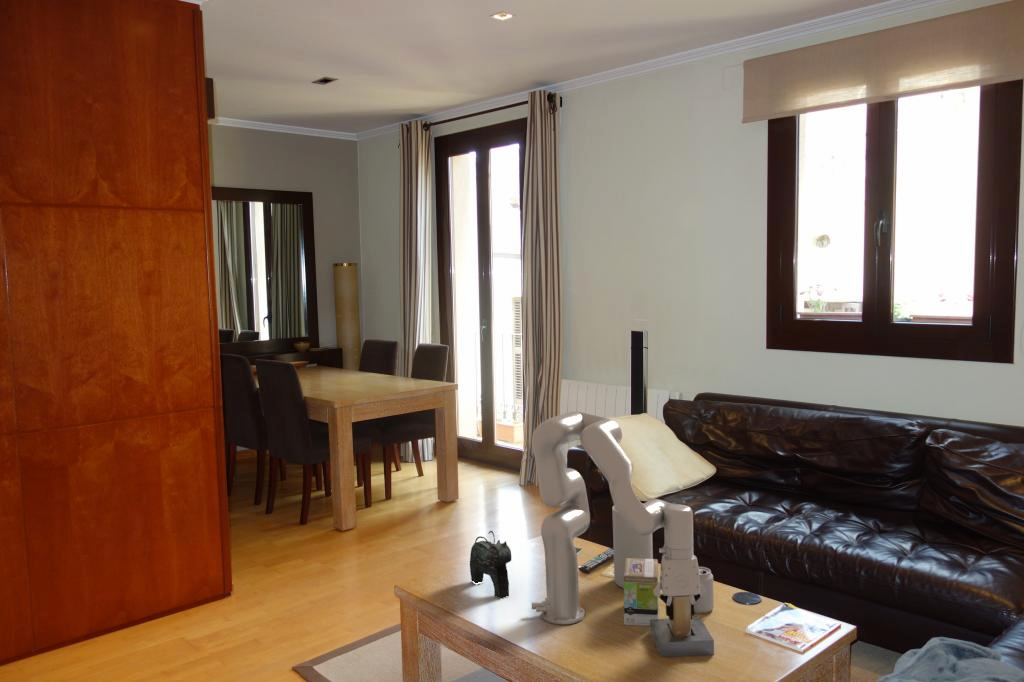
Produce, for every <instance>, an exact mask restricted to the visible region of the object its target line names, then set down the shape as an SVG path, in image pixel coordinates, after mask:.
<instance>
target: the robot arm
mask: <svg viewBox="0 0 1024 682" xmlns="http://www.w3.org/2000/svg"><path fill="white" fill-rule="evenodd" d="M532 433H533V434H532V435H531V449H532V452H533V455H534V460H535V467H536V475H537V481H538V488H539V494H540V497H541V498H540V499H541V500H542V502H543V504H544V505H545V506H547V507H548V508H557V507H560V508H558V509H556V510H554V511H552V512H551V513H549V514H548V515H547V516H546V517H545V518H544V519H543V520H542V523H541V527H540V533H541V539H542V543H543V549H544V565H545V584H546V585H545V587H546V597H545V598H544V600H542V601H541V602H531V610H535V611H536V613H540V612H541V617H542V618H543V620H545V622H548V623H551V624H553V625H572V624H576V623H578V621H579V622H580V620H581V621H582V620H583V619H584V618H585V615H586V612H585V609H584V608H583V607H581V606H580V596H579V593H580V592H579V567H578V565H579V563H578V552H577V550H576V547H575V543H574V539H577V537H579V536H581V535H582V534H583V533H585V532H586V531H587V530H588V528H589V527H590V522H591V513H590V507H589V501H588V494H587V488H586V483H585V480H584V479H583V478H584V477H583V476H582V475H581V474H580V472H578V470H576V469H574V468H571V467H567V468H566V461H565V457H564V454H563V453H562V450H561V449H560V447H561V446H563V445H567V444H570V443H573V442H575V441H580V444H581V446H582V447H583V449H584V451H586V453H587V455H588V456H589V457H590V458H591V460H592V461H593V462H594V464H595V465H596V467H597V468H598V469H599V471H600V472H601V474H602V475H603V476H604V478H605V479H606V481H607V482H608V487H609V492H610V496H611V499H612V502H613V506H614V505H615V508H616V509H617V511H618V513H619V514H620V516H621V517H622V518H623V520H624V521H625V523H626V524H627V525H628V526H629V528H630V529H631V530H633V531H634V532H635V533H637V534H639V535H642V536H644V535H649V534H651V533H652V534H653V533H654V532H656V531H657V530H658V529H661V528H664V530H663V531H664V535H663V537H664V544H663V547H660V548H659V549H658V550H659V551H658V552H659V554H662V556H661V560H660V561H661V563H660V569H659V570H660V571H659V580H658V584H657V586H656V587H655V588H654V590H653V594H654V595H655V596H657V597H658V598H659V599H660V600H661V601H662V602H664V604H665V615H666V616H667V617H668V618H669V619H670V620H673V606H672V603H671V601H672V597H673V596H690V597H691V619H692V617H693V616H695V615H694V614H695V612H694V604H695V602H696V601H697V600H698V599H699V598H700V596H702V595H703V594H705V593H706V592H707V591H706V589H705V588H704V586H703V585H702V584H701V583H700V577H699V568H698V567H699V563H698V558H697V556H696V555H695V554H694V515H693V509H692V508H691V507H690V506H688V505H685V504H680V503H678V504H676V503H675V504H674V503H671V502H667V501H665V500H662V499H660V498H659V499H658V498H653V499H650V500H648V501H645V502H644V504H642V502H641V500H640V499H639V498H638V496H637V494H636V492H635V490H634V488H633V487H634V486H633V483H632V479H633V478H632V476H633V473H634V472H633V471H634V463H633V462H632V460H631V459H630V457H629V456H628V455H627V453H626V452H625V451H624V449H623V448H622V447H621V446H620V443H621V441H622V438H623V432H622V429H621V427H620V425H619V424H618V423H617V422H616V421H614V420H613V419H611V418H607V417H605V416H604V417H603V416H599V415H594V414H592V413H591V414H590V413H586V412H583V411H568V412H566V413H562V414H559V415H556V416H553V417H551V418H547V419H545V420H544V421H543V422H541V423H539V425H538V426H537V427H535V429H534V430H533V432H532ZM661 591H662V592H661Z"/></svg>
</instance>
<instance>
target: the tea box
mask: <svg viewBox="0 0 1024 682" xmlns="http://www.w3.org/2000/svg"><path fill="white" fill-rule="evenodd" d="M658 563H659V561H658V559H657V558H653V559H636V558H626V559H625V569H624V588H623V624H624V625H625V626H626V625H627V626H639V627H642V626H644V627H650V619H659V601H660V600H659V599H660V598H658V597H657V596H655V595H654V594H653V590H654V588H655V587H656V586H657V584H658V583H659V564H658Z"/></svg>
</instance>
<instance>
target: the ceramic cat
mask: <svg viewBox="0 0 1024 682" xmlns="http://www.w3.org/2000/svg"><path fill="white" fill-rule="evenodd" d="M490 534H492V536H493V537H495V534H494V532H493V530H489V532H488V535H490ZM478 539H483V540H480V541H478ZM495 542H496V539H495V538H493V542H492V541H489V540H488V539H487V538H485V537H484V536H480V535H479V536H477V537H476V539H475V541H474V543H473V544H472V546H471V549H470V555H469V556H470V557H469V572H470V578H471V580H472V581H474V582H475V583H478V582H482V581H483V582H484V574H485V575H487V576H489V577H490V580H491V582H492V584H493V588H494V589H493V590H494V591H493V592H494V593H493V594H494V595H493V596H494V597H496V596H497V598H498V597H499V598H498V599H500V598H502V599H504V598H503V597H505V598H507V597H506V596H508V597H510V582H509V574H508V568H507V564H508V563H510V562H511V561H512V551H511V548H510V547H509V545H508V544H507V541H504V542H502V543H501V541H500V539H498V540H497V542H496V543H495ZM471 580H470V581H471ZM472 581H471V582H472Z"/></svg>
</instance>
